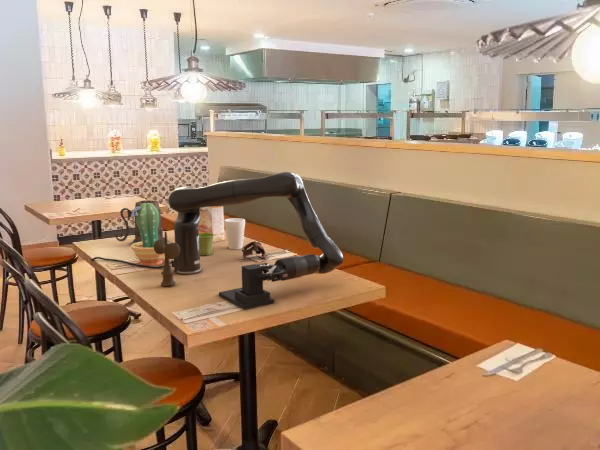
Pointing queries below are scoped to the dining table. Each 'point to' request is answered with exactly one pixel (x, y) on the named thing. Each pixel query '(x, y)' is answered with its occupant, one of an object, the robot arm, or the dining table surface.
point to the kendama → (167, 259)
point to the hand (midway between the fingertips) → (249, 275)
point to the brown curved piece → (253, 249)
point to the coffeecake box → (212, 222)
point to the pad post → (251, 280)
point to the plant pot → (205, 243)
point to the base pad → (246, 298)
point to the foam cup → (235, 232)
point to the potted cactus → (147, 234)
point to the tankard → (136, 231)
